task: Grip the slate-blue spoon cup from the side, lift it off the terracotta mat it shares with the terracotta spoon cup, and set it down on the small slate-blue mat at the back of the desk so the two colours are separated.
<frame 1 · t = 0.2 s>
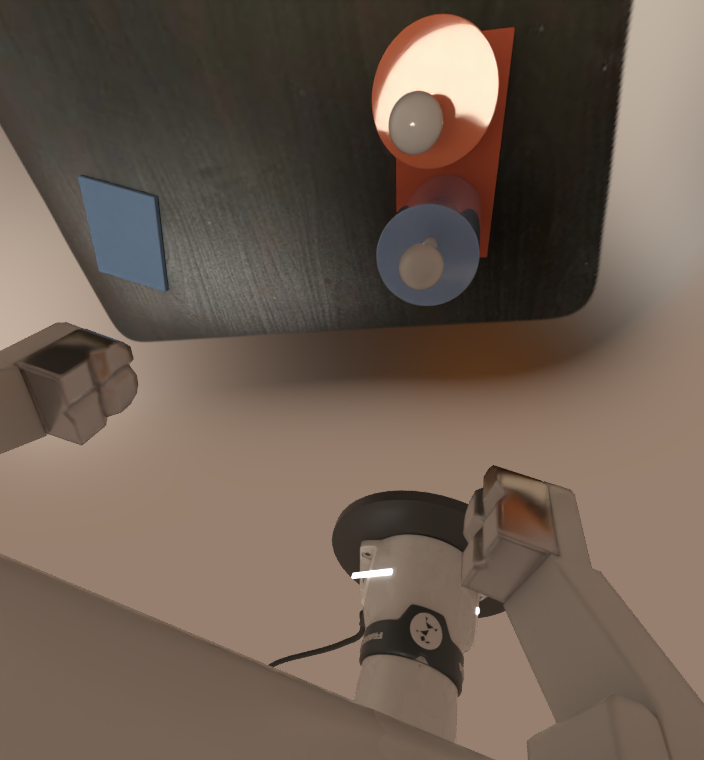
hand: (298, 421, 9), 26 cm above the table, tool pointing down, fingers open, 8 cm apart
red mat: (446, 159, 27), on the table
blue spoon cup: (442, 215, 29), resting on red mat
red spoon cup: (450, 99, 25), resting on red mat
blue mat: (127, 236, 38), on the table
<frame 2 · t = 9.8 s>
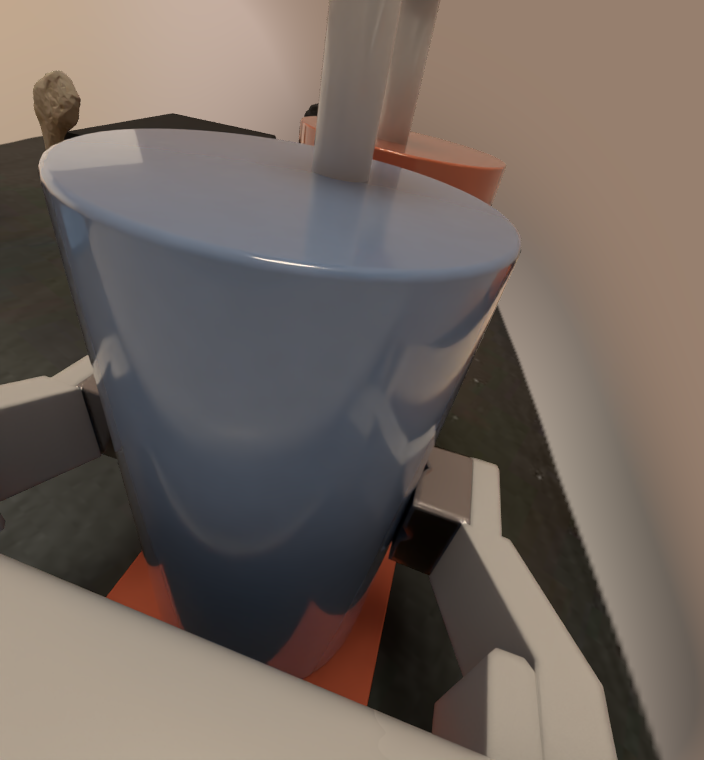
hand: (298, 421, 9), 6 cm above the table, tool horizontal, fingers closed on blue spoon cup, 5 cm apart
red mat: (310, 485, 14), on the table
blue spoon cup: (267, 571, 11), point 1 cm above the table, touching gripper, red mat
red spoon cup: (342, 415, 16), resting on red mat
bone: (125, 210, 32), on the table
external hard drive: (193, 165, 47), on the table
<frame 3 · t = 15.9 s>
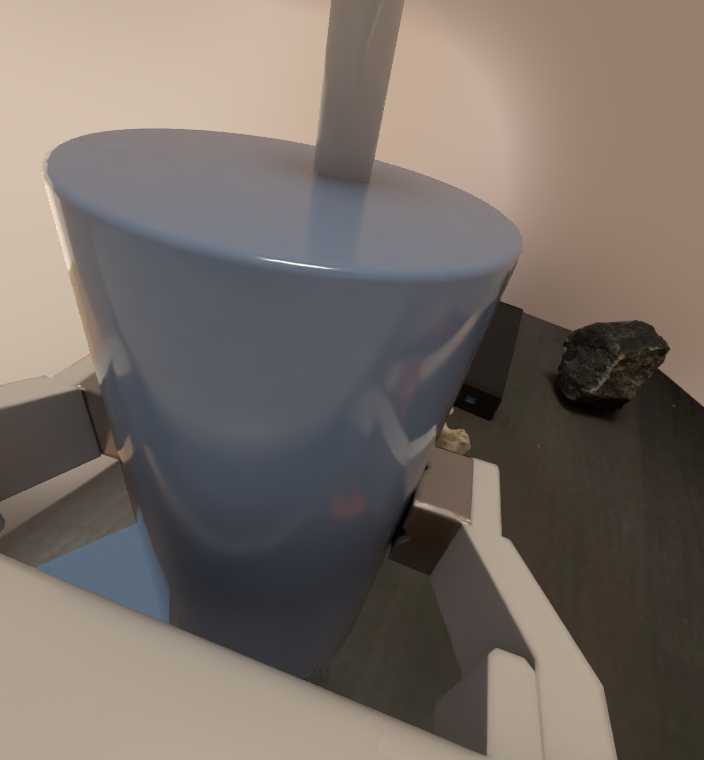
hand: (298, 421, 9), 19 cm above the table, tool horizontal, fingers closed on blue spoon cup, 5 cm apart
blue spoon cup: (268, 571, 11), point 14 cm above the table, touching gripper
rock: (581, 400, 46), on the table
blue mat: (105, 604, 22), on the table
bone: (415, 443, 36), on the table
external hard drive: (449, 346, 51), on the table
when the fingers open (5 cm above the table, at t = 22.3 s): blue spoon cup stays where it is, resting on blue mat.
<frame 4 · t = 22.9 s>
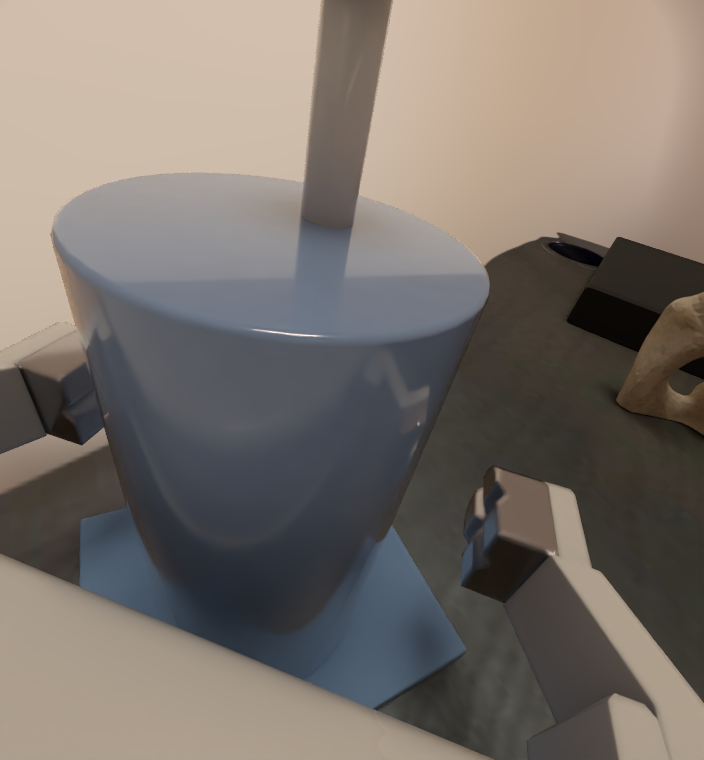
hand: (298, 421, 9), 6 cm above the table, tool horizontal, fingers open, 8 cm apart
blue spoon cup: (262, 579, 11), resting on blue mat
blue mat: (265, 590, 12), on the table
bone: (684, 423, 23), on the table
external hard drive: (665, 316, 37), on the table
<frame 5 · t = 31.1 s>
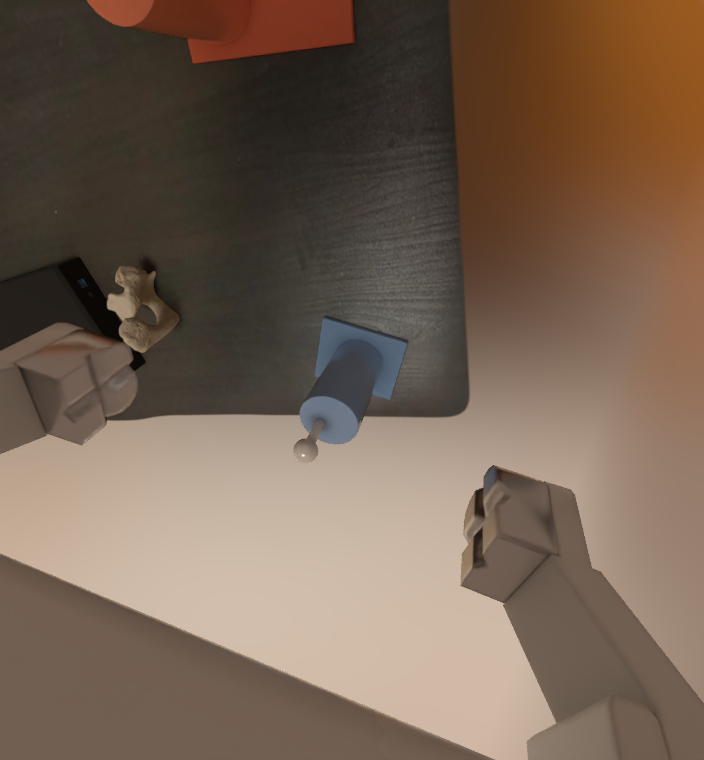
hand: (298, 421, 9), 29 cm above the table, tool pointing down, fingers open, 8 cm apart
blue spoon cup: (358, 361, 42), resting on blue mat
blue mat: (359, 358, 43), on the table
bone: (153, 293, 46), on the table
external hard drive: (57, 326, 53), on the table
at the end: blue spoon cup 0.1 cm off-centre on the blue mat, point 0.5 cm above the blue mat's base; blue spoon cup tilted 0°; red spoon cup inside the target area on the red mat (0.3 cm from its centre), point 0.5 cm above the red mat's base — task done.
